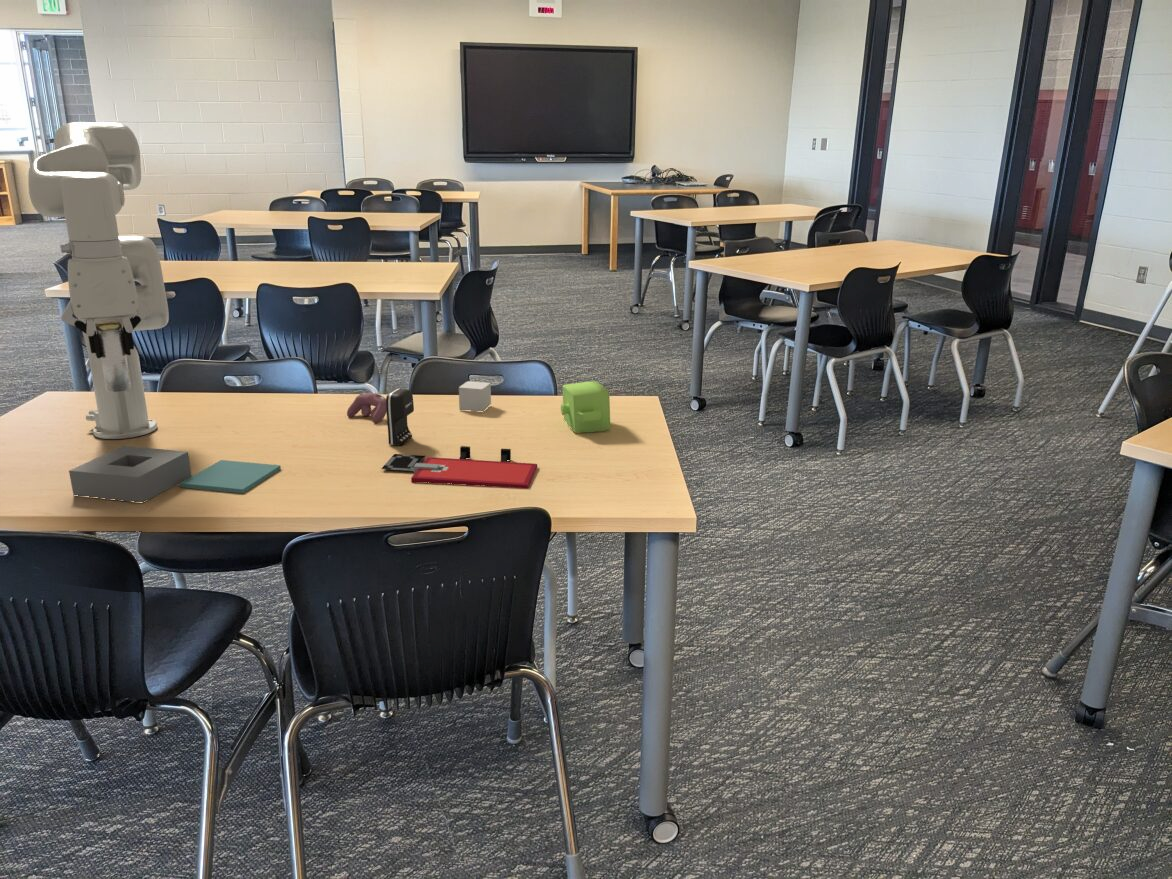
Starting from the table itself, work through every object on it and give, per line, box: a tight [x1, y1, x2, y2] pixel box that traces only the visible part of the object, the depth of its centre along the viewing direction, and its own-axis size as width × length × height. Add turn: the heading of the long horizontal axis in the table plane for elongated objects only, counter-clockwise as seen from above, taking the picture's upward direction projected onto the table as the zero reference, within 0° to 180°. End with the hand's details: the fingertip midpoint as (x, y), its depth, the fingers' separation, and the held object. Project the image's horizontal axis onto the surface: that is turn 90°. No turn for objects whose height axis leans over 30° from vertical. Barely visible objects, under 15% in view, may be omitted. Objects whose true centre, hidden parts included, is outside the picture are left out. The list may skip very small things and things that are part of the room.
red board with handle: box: [381, 445, 538, 489], centre depth 172 cm, size 30×3×15 cm
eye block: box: [68, 445, 192, 503], centre depth 161 cm, size 14×14×5 cm
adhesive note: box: [458, 380, 492, 412], centre depth 212 cm, size 6×6×6 cm
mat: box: [179, 459, 282, 494], centre depth 166 cm, size 13×13×1 cm
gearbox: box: [560, 380, 611, 434], centre depth 200 cm, size 18×10×10 cm, turn 15°
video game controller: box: [346, 392, 387, 424], centre depth 204 cm, size 10×5×7 cm, turn 58°
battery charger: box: [385, 388, 415, 446], centre depth 186 cm, size 7×4×11 cm, turn 168°
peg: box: [95, 320, 131, 392], centre depth 154 cm, size 4×4×12 cm
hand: (113, 354), depth 154 cm, fingers closed on peg, 4 cm apart
